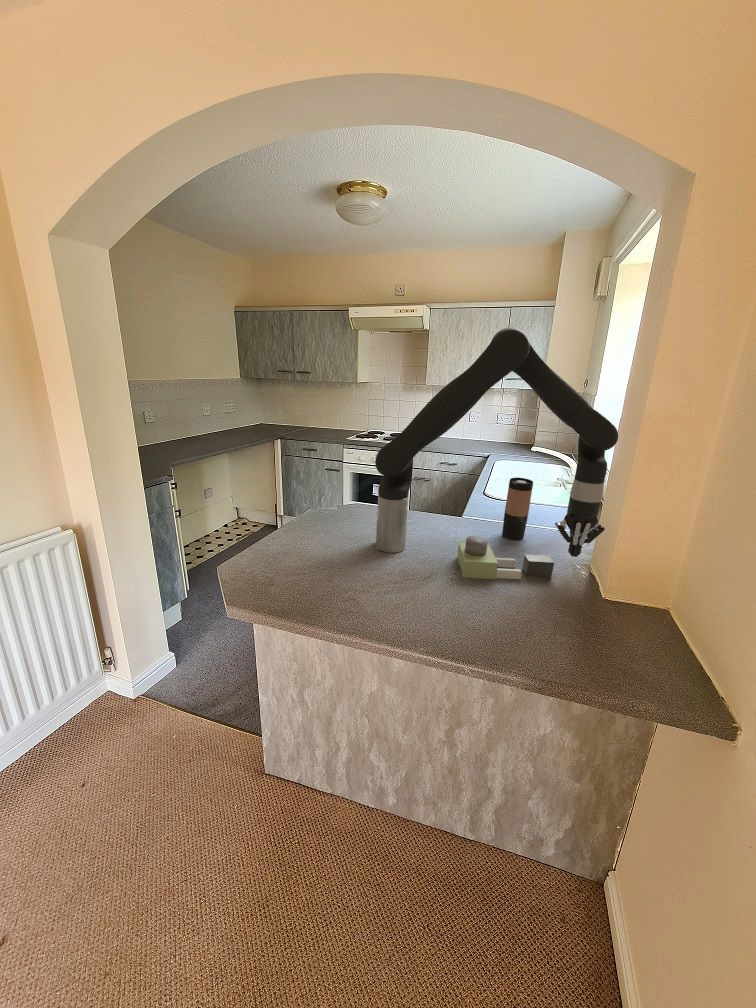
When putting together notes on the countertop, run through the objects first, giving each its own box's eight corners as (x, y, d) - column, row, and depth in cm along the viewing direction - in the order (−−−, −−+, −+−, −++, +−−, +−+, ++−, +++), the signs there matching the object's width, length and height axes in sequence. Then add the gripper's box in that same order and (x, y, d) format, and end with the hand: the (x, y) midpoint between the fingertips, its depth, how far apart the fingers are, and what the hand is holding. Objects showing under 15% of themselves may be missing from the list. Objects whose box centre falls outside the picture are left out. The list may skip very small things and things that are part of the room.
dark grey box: (525, 577, 115) (528, 561, 113) (522, 570, 118) (524, 554, 117) (551, 578, 114) (554, 562, 113) (546, 571, 118) (549, 555, 116)
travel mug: (521, 532, 145) (530, 478, 138) (526, 541, 137) (536, 484, 131) (499, 530, 145) (507, 476, 138) (503, 539, 138) (512, 483, 131)
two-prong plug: (462, 577, 113) (466, 549, 110) (457, 557, 124) (460, 531, 121) (521, 580, 112) (526, 552, 110) (510, 560, 124) (514, 534, 121)
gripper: (565, 500, 105) (554, 560, 110) (618, 502, 104) (604, 563, 110) (555, 491, 112) (545, 548, 118) (604, 493, 111) (591, 550, 117)
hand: (573, 555), depth 114 cm, fingers closed
